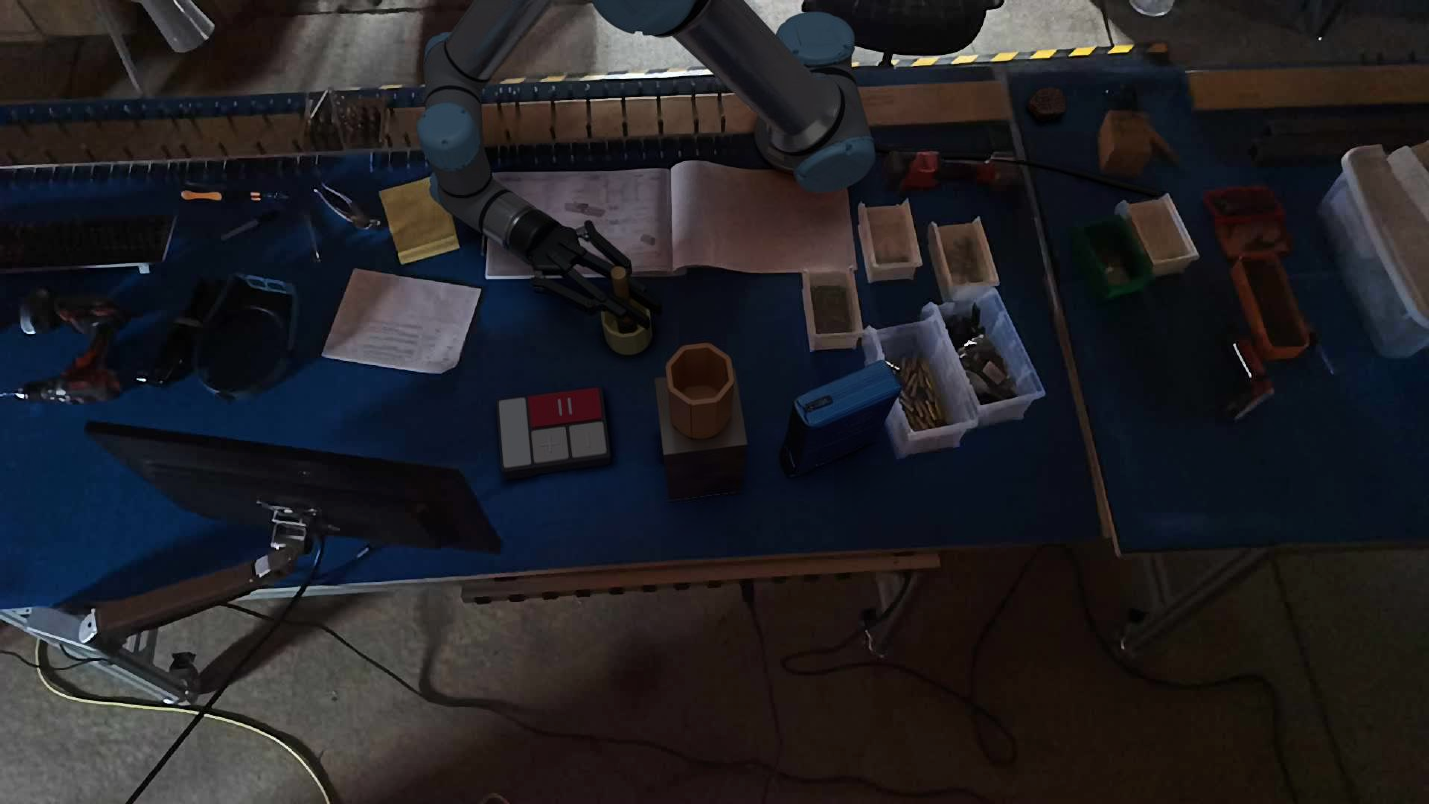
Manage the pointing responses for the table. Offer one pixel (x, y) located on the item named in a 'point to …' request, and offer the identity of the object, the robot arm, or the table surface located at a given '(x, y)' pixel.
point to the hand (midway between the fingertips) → (653, 316)
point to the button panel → (552, 432)
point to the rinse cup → (629, 341)
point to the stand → (702, 453)
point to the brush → (623, 292)
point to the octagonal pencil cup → (700, 390)
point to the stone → (1047, 104)
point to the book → (838, 418)
